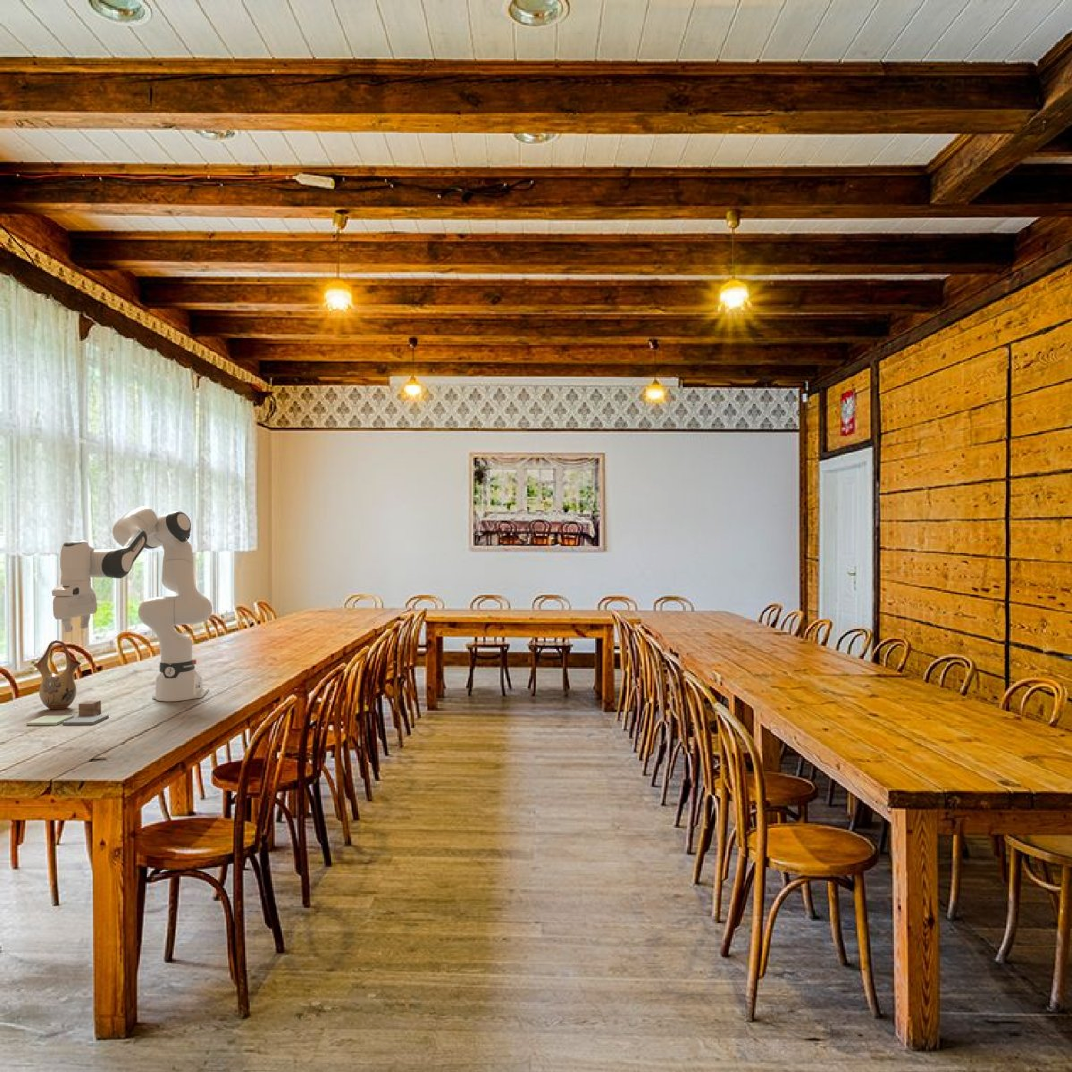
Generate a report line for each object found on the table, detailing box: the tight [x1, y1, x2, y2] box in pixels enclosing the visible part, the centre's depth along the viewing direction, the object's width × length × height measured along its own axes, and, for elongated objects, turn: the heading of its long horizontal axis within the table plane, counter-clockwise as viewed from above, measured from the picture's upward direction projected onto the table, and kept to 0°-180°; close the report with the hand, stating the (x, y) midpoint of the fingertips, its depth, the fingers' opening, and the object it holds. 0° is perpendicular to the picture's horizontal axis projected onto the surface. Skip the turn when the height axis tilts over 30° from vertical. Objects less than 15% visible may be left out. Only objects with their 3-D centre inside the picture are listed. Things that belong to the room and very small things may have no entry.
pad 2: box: [62, 714, 110, 726], centre depth 271 cm, size 10×10×1 cm
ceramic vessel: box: [33, 639, 82, 710], centre depth 291 cm, size 16×9×25 cm, turn 94°
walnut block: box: [78, 699, 102, 716], centre depth 279 cm, size 5×5×5 cm
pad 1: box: [25, 714, 75, 726], centre depth 271 cm, size 10×10×1 cm
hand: (76, 630), depth 269 cm, fingers open, 8 cm apart
